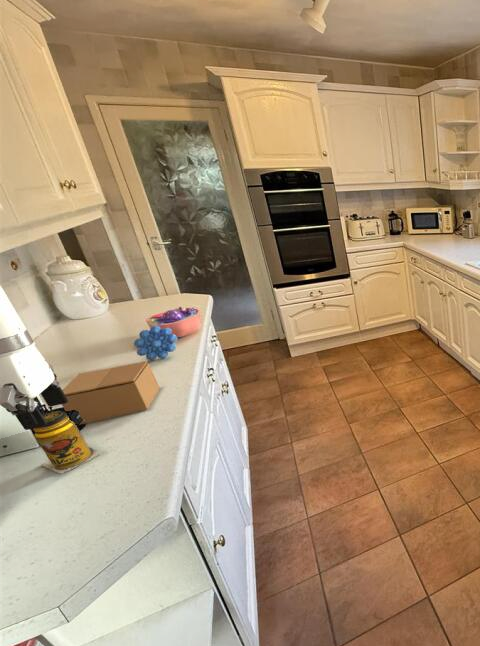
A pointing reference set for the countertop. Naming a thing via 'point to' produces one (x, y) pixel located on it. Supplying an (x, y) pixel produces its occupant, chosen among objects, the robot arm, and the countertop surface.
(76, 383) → the flap
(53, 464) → the condiment
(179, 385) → the countertop surface
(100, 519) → the countertop surface
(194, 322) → the cell model
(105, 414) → the carton
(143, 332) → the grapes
